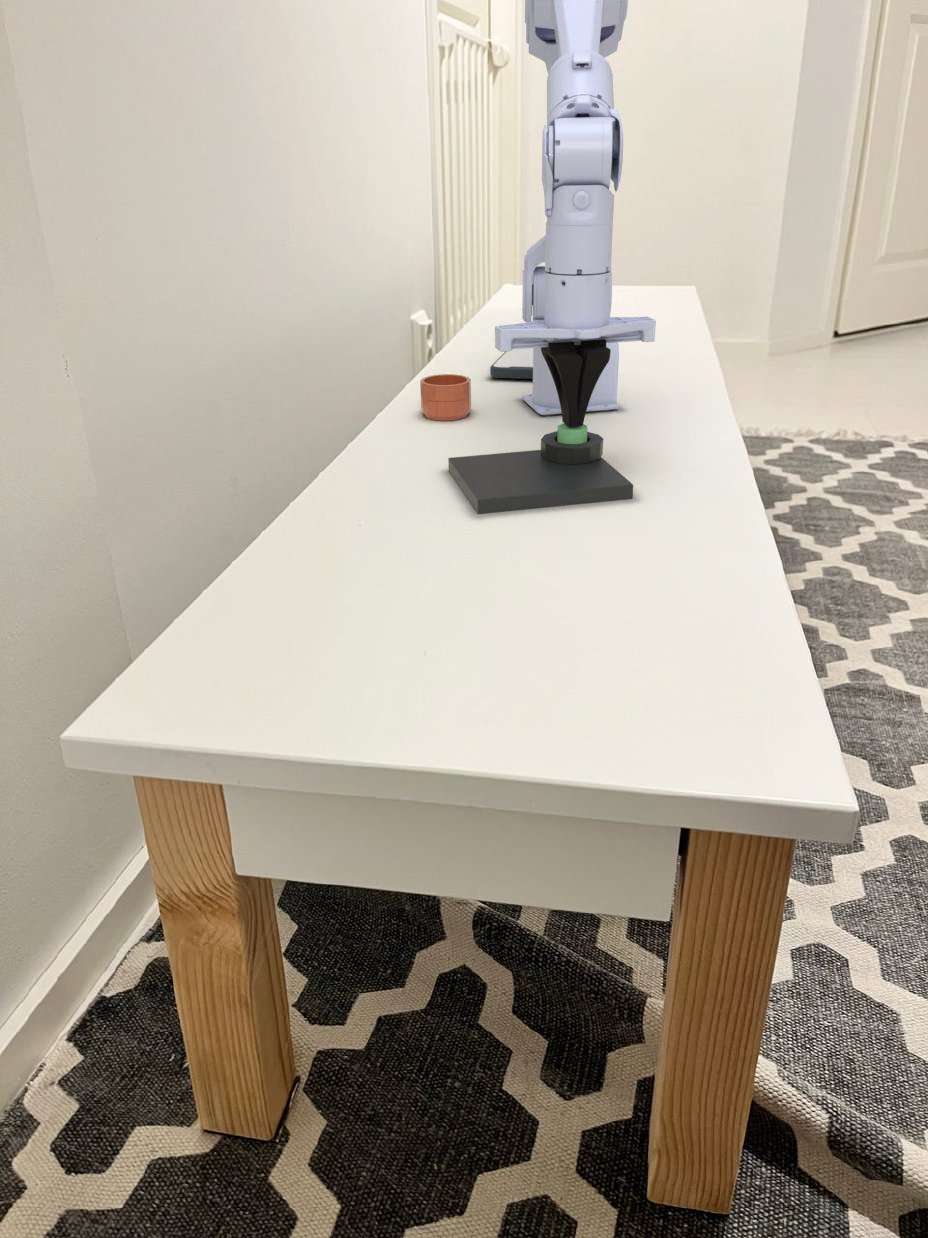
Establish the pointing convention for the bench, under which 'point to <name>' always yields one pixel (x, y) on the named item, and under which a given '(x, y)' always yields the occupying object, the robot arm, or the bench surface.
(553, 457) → the scale
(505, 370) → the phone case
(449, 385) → the bowl
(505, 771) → the bench surface
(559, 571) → the bench surface
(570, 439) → the button
